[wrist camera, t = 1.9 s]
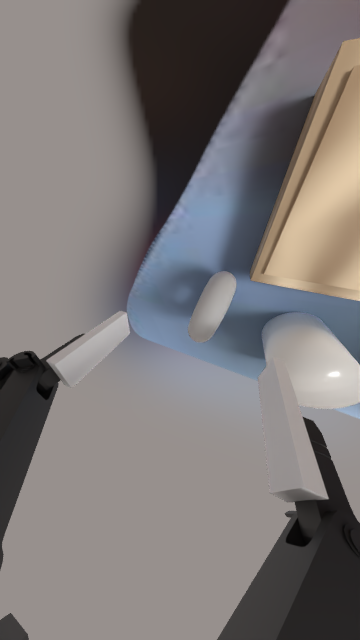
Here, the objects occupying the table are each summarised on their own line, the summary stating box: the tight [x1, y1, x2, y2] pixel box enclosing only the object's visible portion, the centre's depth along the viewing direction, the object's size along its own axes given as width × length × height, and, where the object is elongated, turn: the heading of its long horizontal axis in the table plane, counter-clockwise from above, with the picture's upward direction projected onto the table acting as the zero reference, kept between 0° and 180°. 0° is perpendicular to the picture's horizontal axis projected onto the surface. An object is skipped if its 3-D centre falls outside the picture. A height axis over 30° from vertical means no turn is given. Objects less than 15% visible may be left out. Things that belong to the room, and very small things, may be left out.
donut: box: [188, 271, 236, 342], centre depth 19 cm, size 10×4×10 cm, turn 165°
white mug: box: [262, 312, 360, 409], centre depth 19 cm, size 8×11×9 cm
